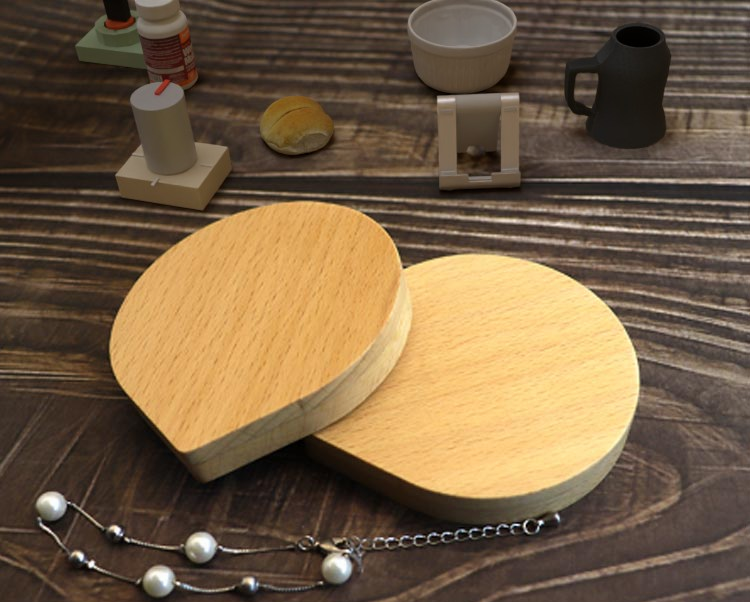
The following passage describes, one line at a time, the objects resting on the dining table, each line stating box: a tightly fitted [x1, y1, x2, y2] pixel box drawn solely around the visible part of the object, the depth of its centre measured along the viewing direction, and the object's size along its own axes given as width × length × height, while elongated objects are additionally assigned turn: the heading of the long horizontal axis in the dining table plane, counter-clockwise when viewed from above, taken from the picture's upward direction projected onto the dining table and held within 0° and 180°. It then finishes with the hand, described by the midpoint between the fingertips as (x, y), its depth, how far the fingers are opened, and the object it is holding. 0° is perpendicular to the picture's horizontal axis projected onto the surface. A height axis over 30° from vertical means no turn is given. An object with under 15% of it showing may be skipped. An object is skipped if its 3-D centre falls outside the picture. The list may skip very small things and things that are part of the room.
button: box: [106, 16, 134, 30], centre depth 133 cm, size 4×4×2 cm
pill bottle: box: [134, 0, 199, 91], centre depth 125 cm, size 6×6×11 cm
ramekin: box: [407, 0, 518, 95], centre depth 124 cm, size 13×13×7 cm
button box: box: [74, 9, 147, 70], centre depth 134 cm, size 10×8×4 cm
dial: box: [129, 79, 197, 175], centre depth 109 cm, size 6×6×8 cm
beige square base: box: [114, 141, 233, 211], centre depth 113 cm, size 10×10×3 cm
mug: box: [563, 22, 672, 150], centre depth 113 cm, size 12×9×11 cm
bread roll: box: [259, 95, 335, 156], centre depth 118 cm, size 8×9×4 cm
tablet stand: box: [436, 91, 522, 191], centre depth 109 cm, size 9×8×8 cm
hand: (119, 17), depth 132 cm, fingers closed
